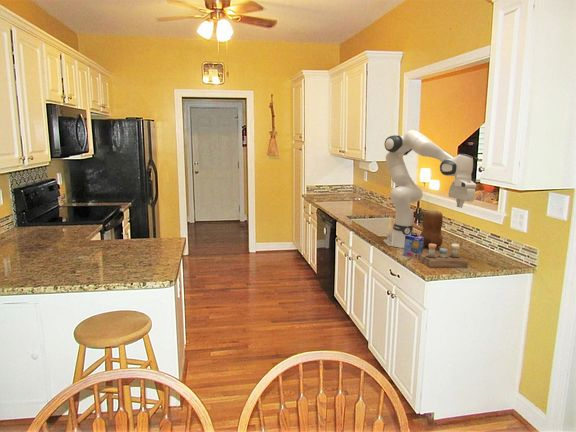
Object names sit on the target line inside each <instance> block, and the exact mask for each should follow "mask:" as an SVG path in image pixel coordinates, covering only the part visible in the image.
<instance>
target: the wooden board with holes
mask: <svg viewBox="0 0 576 432" xmlns="http://www.w3.org/2000/svg"><path fill="white" fill-rule="evenodd" d="M428 254H429V253H423V254H418V258H417V262H420V263H422V264H423V265H424V266H427V267H428V268H430V269H438V268H439V269H441V268H442V269H446V268H448V269H449V268H451V269H453V268H455V267H467V268H468V263H469V260H468V259H465V258H463V257H461V256H459V255H457V257H451V253H446V258H440V253H435V256H434V257H428Z"/></svg>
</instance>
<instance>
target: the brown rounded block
mask: <svg viewBox="0 0 576 432" xmlns="http://www.w3.org/2000/svg"><path fill="white" fill-rule="evenodd" d="M443 219H444V217H443V213H442V211H439V210H434V209H427V210H425V212H424V215H423V222H422V230H421V233H420V235H419V236H421V237H424V244H423V247H424V248H428V249H429V244H430V243H432V244H436V249H437V248H438V249H439V248H441V246H442V245H443V240H444V239H443V238H444V237H443V235H442V226H443V223H444V220H443Z"/></svg>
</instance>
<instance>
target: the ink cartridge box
mask: <svg viewBox="0 0 576 432" xmlns="http://www.w3.org/2000/svg"><path fill="white" fill-rule="evenodd" d="M423 244H424V237H421V236H420V235H418V232H413V231H412V232H411V235H410V234H408V235H405V245H404V248H403V256H406V257H411V258H415V259H418V254H424V246H423Z"/></svg>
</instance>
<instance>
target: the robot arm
mask: <svg viewBox="0 0 576 432" xmlns="http://www.w3.org/2000/svg"><path fill="white" fill-rule="evenodd" d="M384 149H385V150H386V151H387V154H386V155H385V163H386V166H387V171H388V172H389V176H390V179H391V181H392V182H393V184H395V185H396V187H394V188H392V189H391V190H390V192H389V198H390V200H391V202H393V205H394V209H395V219H394V223H393V225H392V226H393V227H392V229H391V230H390V231H389V232H388V233H387V234H386V239H385V238H384V239H383V242H384V244H385V245H386V246H388V247H395V248H399V249H404V245H405V235H408V234H410V235H411V232H413V229H414V225H413V223H414V212H413V210H412V209H411V205H410V204H415V203H417V202H419V201H421V200H422V199H423V196H424V195H423V193H424V192H423V190H422V188H421V187H420V186H418V185H417V184H416V183H415V182H414V180H413V179H412V177H411V176H410V174H409V171H408V169H407V165H406V163H405V161H404V156H407V155H408V154H409V153H410V152H414V153H416V154H417V155H419V156H421V157H427V158H432V159H436V160H438V161H440V164H439V171H440V173H441V174H442V175H443V176H447V177H454V181H452V182H451V185H450V186H449V190H448V197H449V198H452V199H455V201H456V207H457V208H460V209H461V208H463V206H464V203H466V202H474V201H475V198H476V188H477V184H476V182H474V181H473V180H472V173H473V168H474V159H473V156H472V155H469V154H466V153H458V154H457V155H455V156H454V155H452V154H451V153H449V152H448V151H446V150H444V149H443V148H441V147H440V146H439V145H437V144H436V143H435V142H434V141H432V140H431V139H430V138H429V137H427V136H426V135H425V134H423V133H422V132H420V131H417V130H416V129H409V130H408V131H406V132H405V134H404V135H401V134H399V135H390V136H387V138H386V139H385V141H384Z"/></svg>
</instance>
